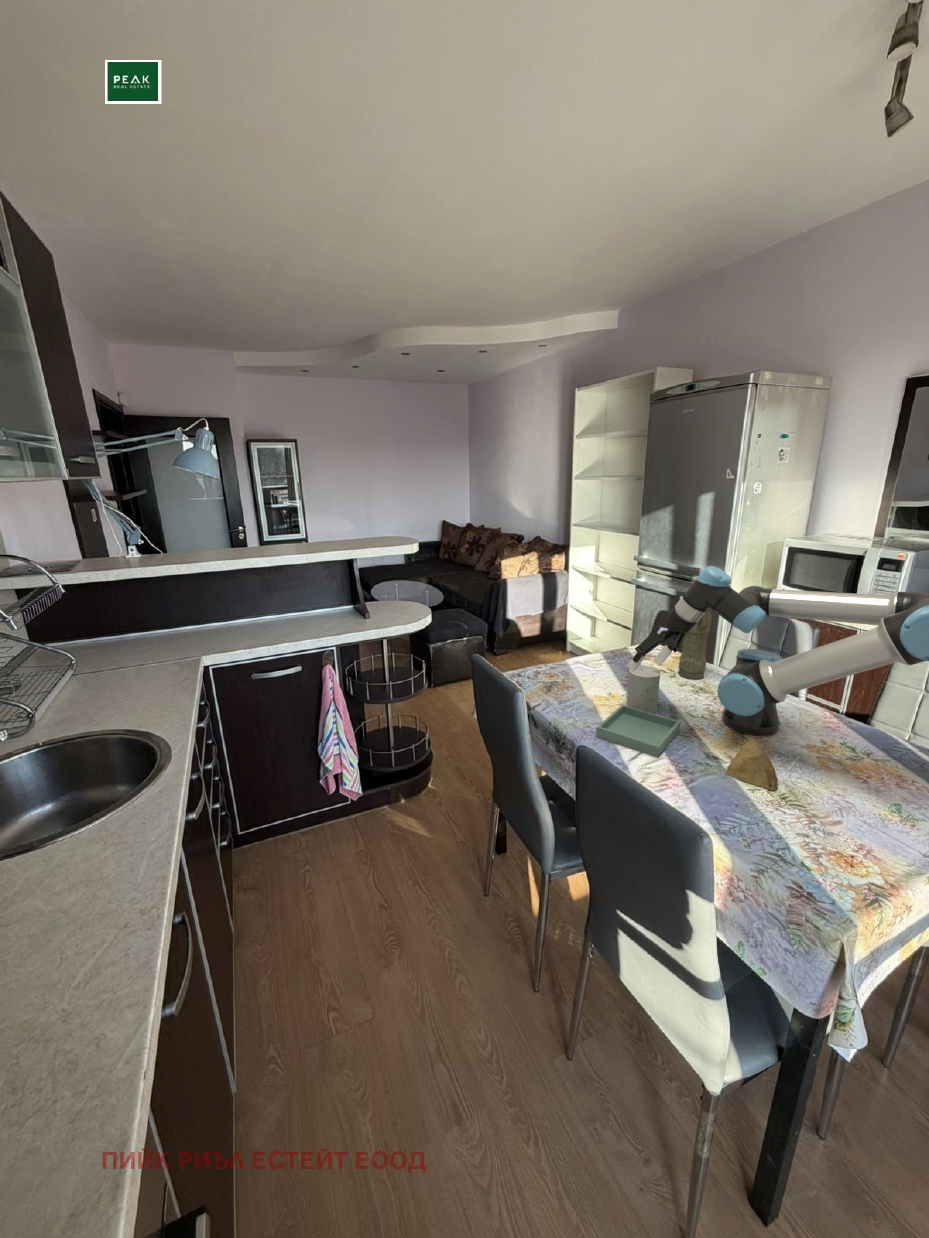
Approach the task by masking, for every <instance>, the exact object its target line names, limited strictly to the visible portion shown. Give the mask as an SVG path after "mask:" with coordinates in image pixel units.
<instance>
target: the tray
mask: <svg viewBox="0 0 929 1238" xmlns="http://www.w3.org/2000/svg"><path fill="white" fill-rule="evenodd" d="M680 731H681V720H678V719H677V720H676V719H673V718H670V717H666V716H663V715H660V714H656V713H654V712H651V713H650V712H646V711H643V710H639V709H636V708H632V707H629V706H627V705H624V704H621V705H620V706H619V707H618V708H617V709H615V710H614V711H613V712H612V713H611V714H610V715H608V717H606V718H604V720H603V721H602V722H600V723H599V724H598V725H597V726H596V731H595V737H596V738H598V739H602V740H604V741H607V742H610V743H613V744H615V745H619V746H621V747H624V748H628V749H630V750H634V751H637V752H640V753H642V754H645V755H648V756H651V757H655V758H657V759H658V758H659V757H660V756H661V754H663V752H664V751H665V750H666V748H668V746H669V743H670V744H671V742H672V741H673V740H674V738H675V737H677V735H678V734H679V733H678V732H680Z"/></svg>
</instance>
